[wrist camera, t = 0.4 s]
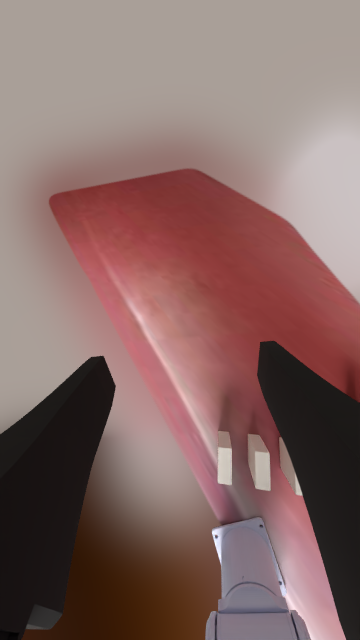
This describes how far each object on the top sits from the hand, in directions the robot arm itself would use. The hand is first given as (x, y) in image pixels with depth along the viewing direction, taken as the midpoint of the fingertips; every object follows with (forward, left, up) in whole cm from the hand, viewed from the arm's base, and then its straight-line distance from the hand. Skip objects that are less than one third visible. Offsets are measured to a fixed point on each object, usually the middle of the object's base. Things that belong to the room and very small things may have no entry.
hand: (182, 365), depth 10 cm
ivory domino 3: (-17, -7, -29) cm, 34 cm away
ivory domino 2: (-15, -2, -29) cm, 33 cm away
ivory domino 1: (-14, +2, -29) cm, 32 cm away
